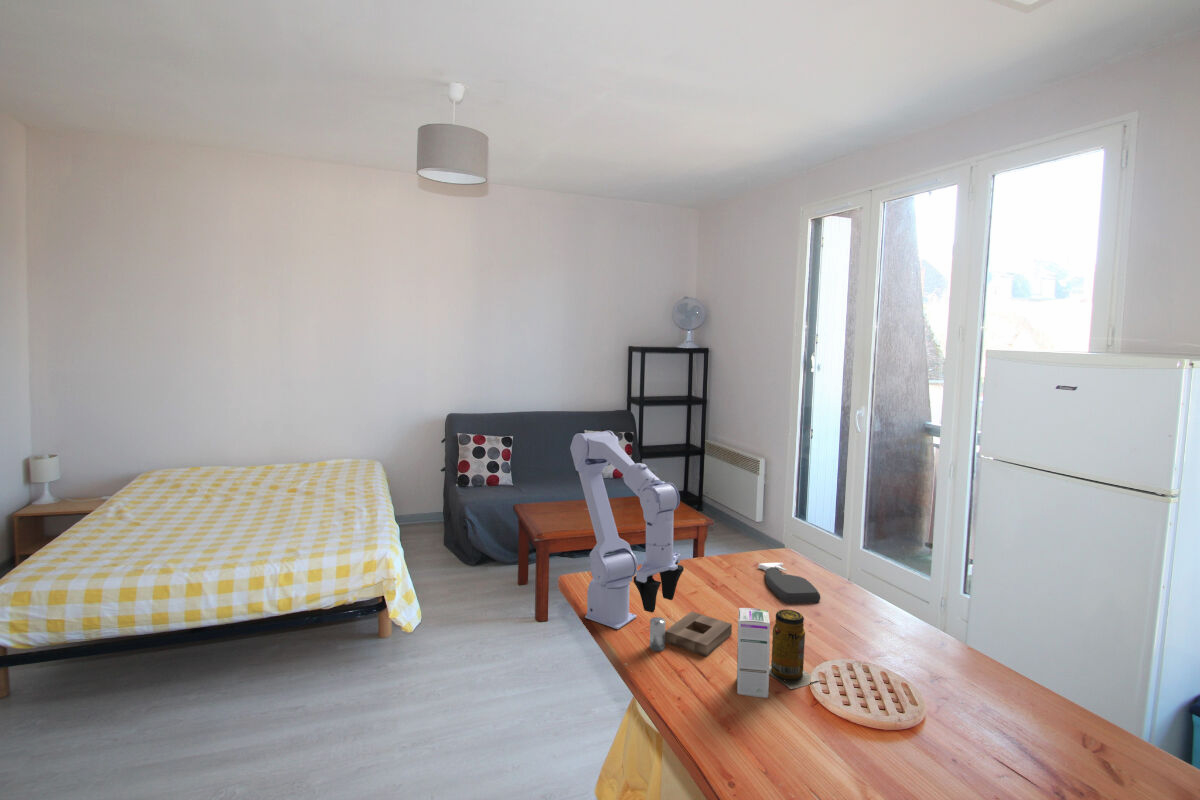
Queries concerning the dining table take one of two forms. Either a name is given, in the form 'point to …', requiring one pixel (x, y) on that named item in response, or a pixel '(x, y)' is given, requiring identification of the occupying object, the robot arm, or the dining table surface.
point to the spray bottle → (789, 585)
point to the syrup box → (753, 652)
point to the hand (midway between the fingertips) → (658, 604)
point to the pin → (657, 634)
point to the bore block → (698, 633)
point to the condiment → (789, 649)
